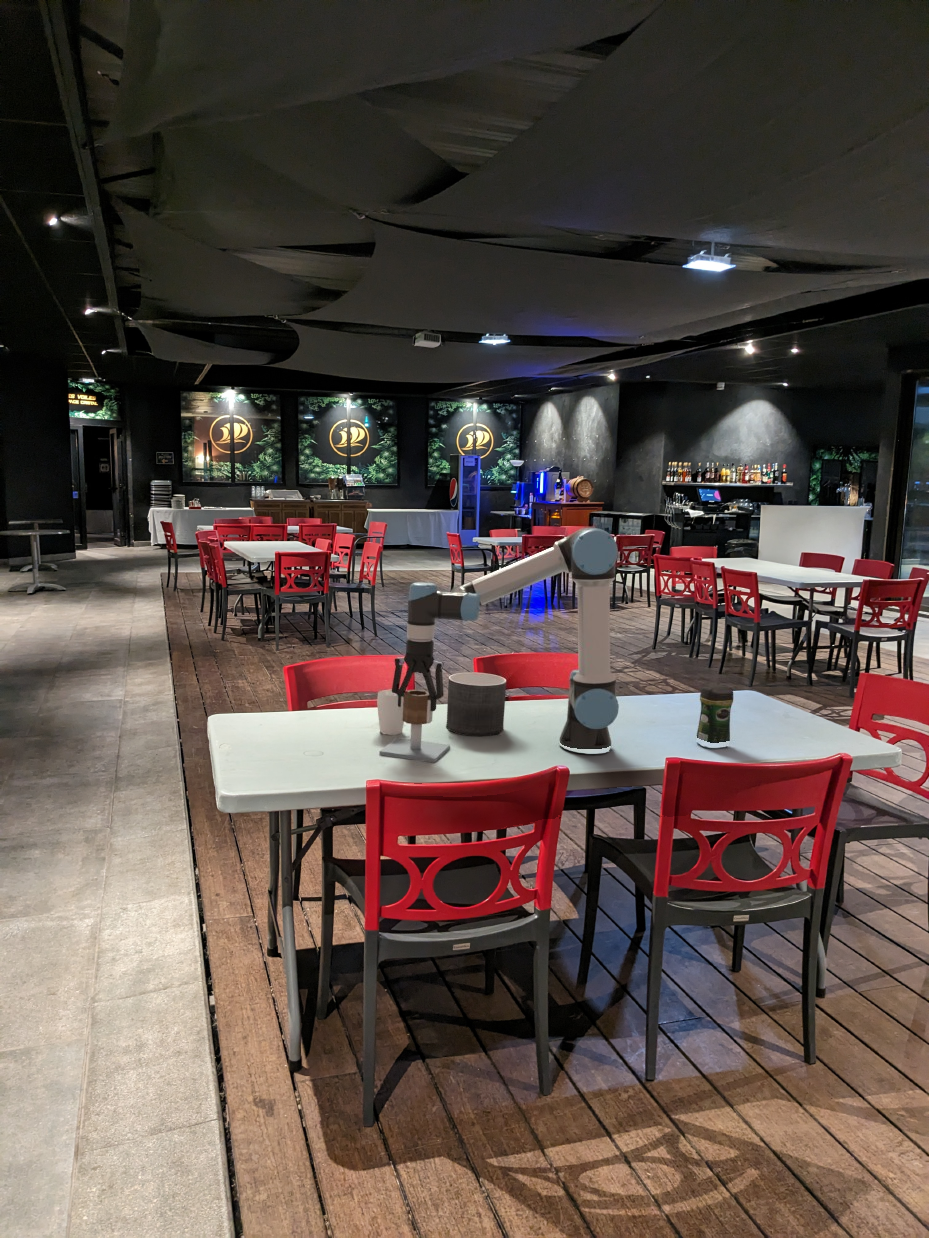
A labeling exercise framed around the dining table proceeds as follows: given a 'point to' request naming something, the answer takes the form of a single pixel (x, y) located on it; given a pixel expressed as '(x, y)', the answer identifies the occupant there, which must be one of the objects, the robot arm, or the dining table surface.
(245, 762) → the dining table surface
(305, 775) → the dining table surface
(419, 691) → the collar
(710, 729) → the coffee jar
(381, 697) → the cup
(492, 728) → the planter
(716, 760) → the dining table surface
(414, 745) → the post block
